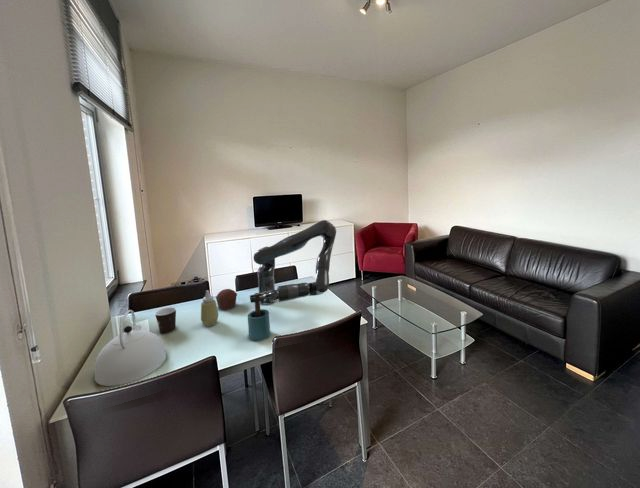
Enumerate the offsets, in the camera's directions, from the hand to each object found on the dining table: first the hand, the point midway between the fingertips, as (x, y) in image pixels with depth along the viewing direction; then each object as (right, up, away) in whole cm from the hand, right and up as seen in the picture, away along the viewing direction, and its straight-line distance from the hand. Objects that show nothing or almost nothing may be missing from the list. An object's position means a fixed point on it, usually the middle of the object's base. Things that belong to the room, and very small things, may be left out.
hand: (250, 299), depth 139 cm
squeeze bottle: (-27, -18, +15) cm, 35 cm away
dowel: (+3, -16, +4) cm, 16 cm away
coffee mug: (-44, -19, +8) cm, 49 cm away
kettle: (-41, -22, -17) cm, 50 cm away
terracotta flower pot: (-27, -15, +35) cm, 46 cm away
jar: (+3, -19, +4) cm, 19 cm away
